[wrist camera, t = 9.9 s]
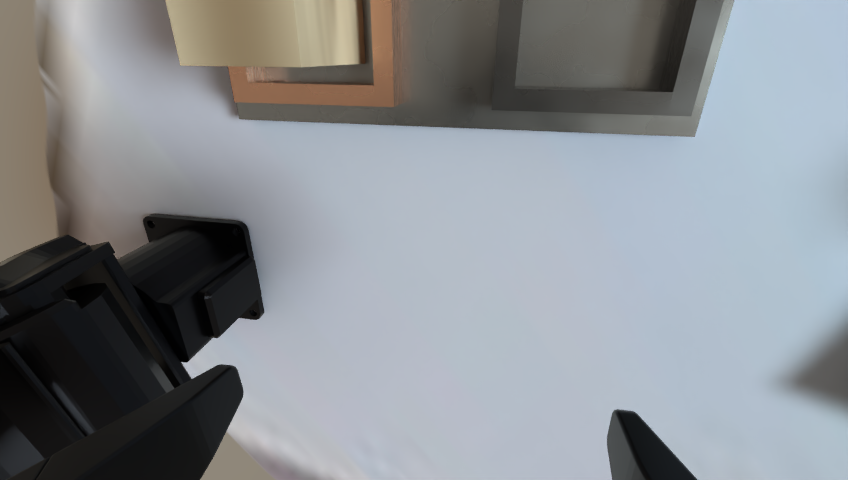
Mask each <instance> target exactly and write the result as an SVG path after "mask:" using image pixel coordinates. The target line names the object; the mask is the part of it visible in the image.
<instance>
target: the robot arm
mask: <svg viewBox="0 0 848 480" xmlns="http://www.w3.org/2000/svg"><path fill="white" fill-rule="evenodd" d="M153 222H154V223H153ZM143 223H144V227H145V230H146V233H147V236H148V240H149V243H148V244H146V245H144V246H142V247H140V248H138V249H136V250H134V251H133V252H131V253H129V254H127V255H125V256H123V257H121V258H119V259H116V257H115V256H114V253H115V251H114V250H113V248H112V247H111V245H110V243H109V242H104V243H100V244H96V245H92V246H90V245H87V244H86V243H82V242H80V241H79V240H77V239H75V238H73V237H71V236H70V235H65V236H61V237H58V238H55V239H53V240H50V241H48V242H45V243H43V244H40V245H38V246H35V247H33V248H31V249H29V250H26V251H23V252H21V253H19V254H17V255H14V256H12V257H10V258H8V259H6V260H4V261H2V262H1V263H0V480H200V479H201V477H202V476H203V474H204V472H205V470H206V469H207V467H208V465H209V464H210V462H211V460H212V459H213V457H214V455H215V453H216V451H217V449H218V447H219V445H220V443H221V441H222V439H223V437H224V435H225V433H226V431H227V429H228V427H229V425H230V423H231V421H232V419H233V417H234V415H235V413H236V411H237V409H238V406H239V404H240V402H241V400H242V397H243V387H242V383H241V380H240V377H239V373H238V370H237V368H236V367H235V366H231V365H217V366H215V367H213V368H212V369H210V370H208V371H206V372H204V373H202V374H200V375H199V376H197V377H195V378H193V379H191V377H190V376H189V374H188V372H187V371H186V369H185V368H184V366H183V364H182V363H181V362H188V361H189V360H190V359H191V358H192V357H193V356H194V355H195V354H196V353H197V352H199V351H200V350H201V349H202V348H203V347H204V346H205V345H206V344H207V343H208V342H209V341H210V340H211V339H212V338H218V337H220V336H221V335H222V334H223V333H224V332H225V331H226V330H227V329H228V328H229V327H230V326H231V325H232V324H233V323H234V322H235V321H236V320H237V319H238V318H245V319H253V320H257V319H259V318H260V317H261V316H262V315H263V313H264V308H263V303H262V297H261V290H260V284H259V279H258V274H257V269H256V264H255V260H254V256H253V251H252V246H251V241H250V236H249V230H248V228H247V226H246V225H245V224H244V223H243V222H240V221H231V220H219V219H207V218H195V217H184V216H172V215H160V214H151V215H149V216H147V217H145V218H144V220H143ZM236 228H237V229H239V230H240V233H239V232H238V231H237V229H236ZM254 310H255V311H256V312H255V311H254ZM607 448H608V454H609V461H610V468H611V474H612V480H697V479H696V478H695V477H694V475H693V474H692V473H691V472H690V471H689V470H688V469H687V468H686V467H685V466H684V465H683V463H682V462H681V461H680V460H679V459H678V458H677V457H676V456H675V455H674V454H673V452H672V451H671V450H670V449H669V448H668V447H667V446H666V445H665V444H664V443H663V442H662V440H661V439H660V438H659V437H658V436H657V435H656V434H655V433H654V432H653V431H652V430H651V428H650V427H649V426H648V425H647V424H646V423H645V422H644V421H643V420H642V419H641V417H640V416H639V415H638V414H637V413H635V412H633V411H627V410H618V409H617V410H614V411H613V413H612V417H611V421H610V426H609V431H608V435H607Z"/></svg>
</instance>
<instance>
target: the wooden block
mask: <svg viewBox="0 0 848 480" xmlns="http://www.w3.org/2000/svg"><path fill="white" fill-rule="evenodd" d="M165 1H166V5H167V9H168V14H169V18H170V22H171V27H172V31H173V36H174V40H175V44H176V49H177V53H178V57H179V62H180V66H243V67H315V66H333V65H350V64H365V45H364V25H363V5H362V0H165Z"/></svg>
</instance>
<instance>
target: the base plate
mask: <svg viewBox="0 0 848 480" xmlns="http://www.w3.org/2000/svg"><path fill="white" fill-rule="evenodd" d="M733 3H734V0H362V5H363V25H364V45H365V64H350V65H333V66H315V67H243V66H228V69H229V75H230V80H231V86H232V91H233V97H234V102H236V103H237V109H238V114H239V119H247V120H273V121H298V122H324V123H350V124H376V125H402V126H428V127H454V128H479V129H505V130H531V131H557V132H583V133H609V134H634V135H660V136H686V137H695V134H696V131H697V127H698V124H699V120H700V117H701V113H702V110H703V106H704V103H705V100H706V96H707V93H708V89H709V86H710V82H711V79H712V75H713V72H714V69H715V65H716V62H717V58H718V55H719V51H720V48H721V44H722V41H723V38H724V34H725V31H726V27H727V24H728V20H729V17H730V14H731V10H732V7H733Z"/></svg>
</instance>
